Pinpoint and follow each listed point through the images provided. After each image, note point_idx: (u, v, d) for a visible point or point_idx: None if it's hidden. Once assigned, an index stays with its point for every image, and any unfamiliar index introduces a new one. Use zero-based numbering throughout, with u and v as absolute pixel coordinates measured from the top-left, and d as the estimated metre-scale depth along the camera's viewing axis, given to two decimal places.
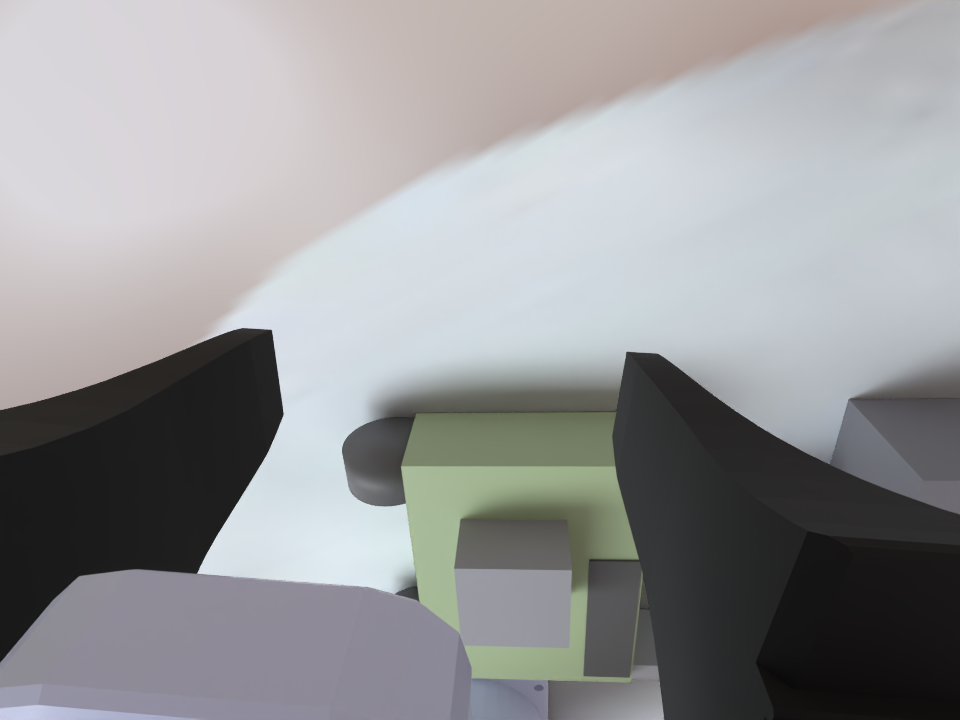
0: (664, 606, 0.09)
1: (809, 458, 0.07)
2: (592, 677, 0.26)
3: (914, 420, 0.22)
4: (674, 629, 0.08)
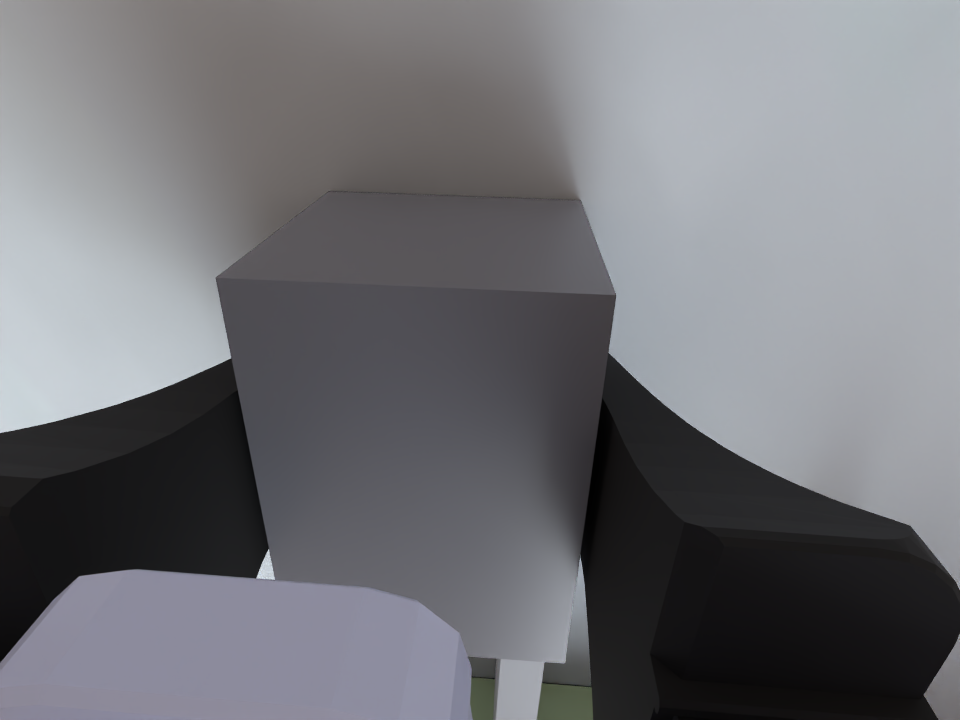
0: (595, 601, 0.09)
1: (726, 452, 0.07)
2: None
3: None
4: (601, 623, 0.08)
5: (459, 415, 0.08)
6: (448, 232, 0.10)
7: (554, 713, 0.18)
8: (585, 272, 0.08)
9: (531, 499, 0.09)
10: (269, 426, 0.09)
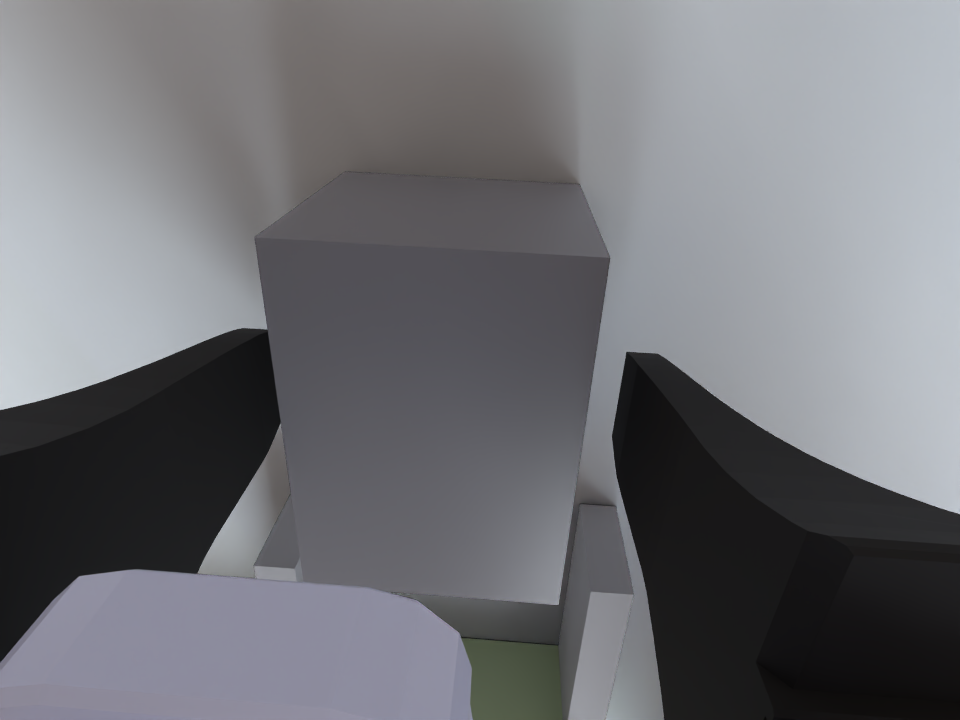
0: (664, 606, 0.09)
1: (809, 458, 0.07)
2: None
3: None
4: (674, 629, 0.08)
5: (468, 367, 0.09)
6: (459, 206, 0.10)
7: None
8: (583, 240, 0.09)
9: (530, 446, 0.10)
10: (296, 375, 0.09)
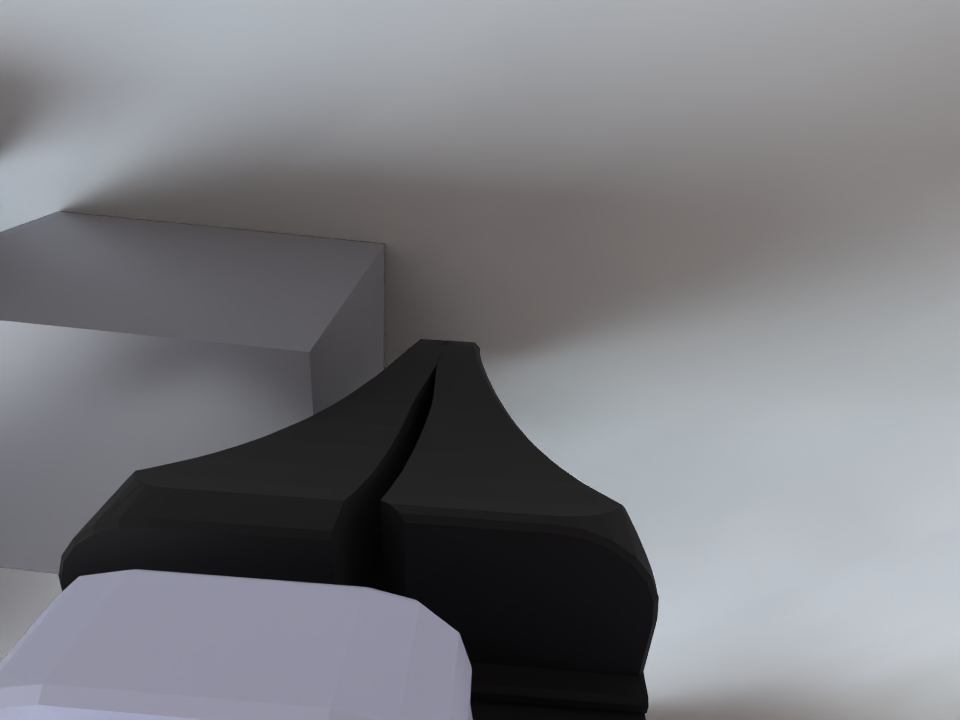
0: None
1: (519, 438, 0.07)
2: None
3: (79, 241, 0.11)
4: None
5: None
6: None
7: None
8: None
9: None
10: (152, 358, 0.08)
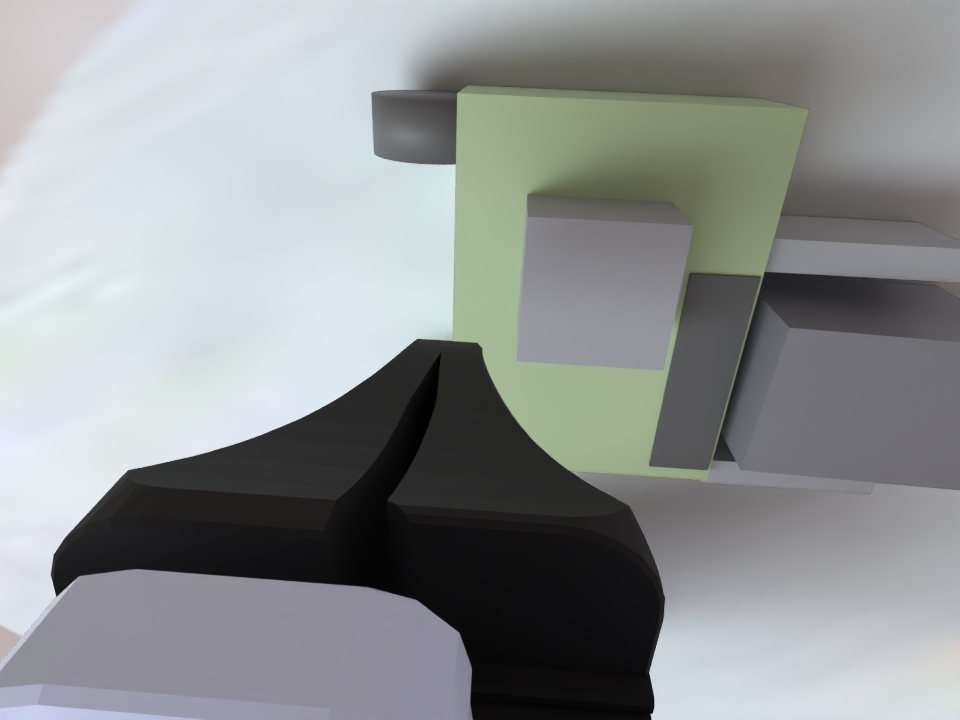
0: None
1: (524, 439, 0.07)
2: (659, 469, 0.21)
3: (797, 288, 0.19)
4: None
5: (929, 435, 0.18)
6: None
7: None
8: None
9: (868, 460, 0.18)
10: (957, 354, 0.17)
